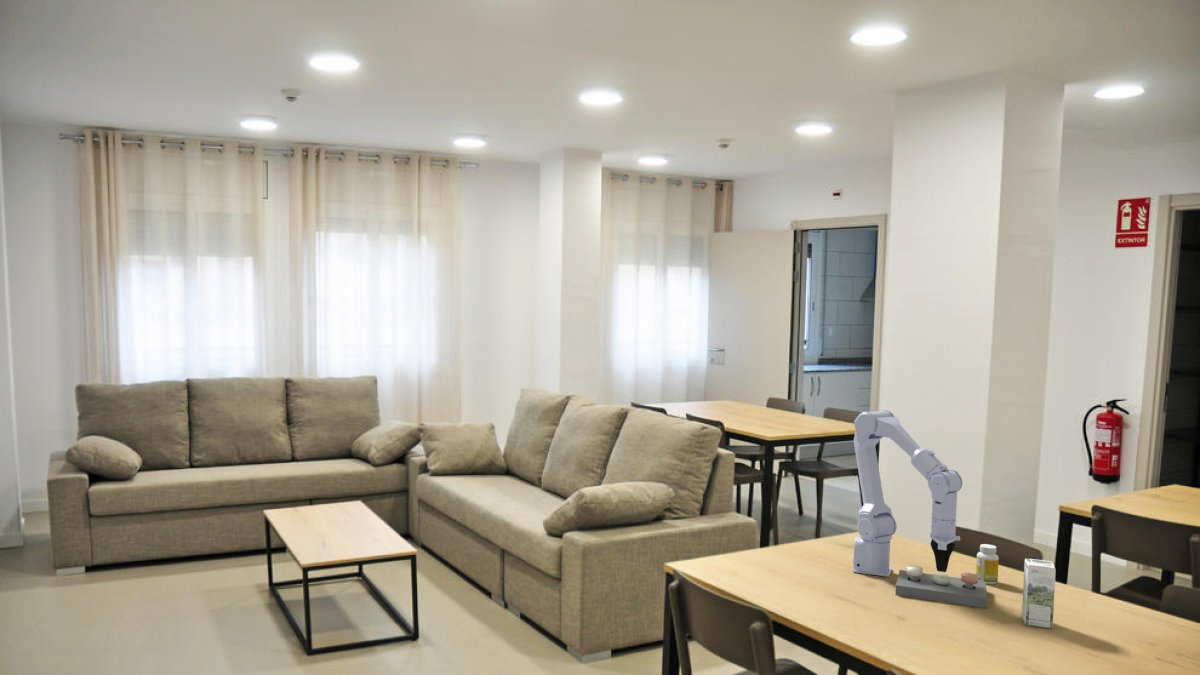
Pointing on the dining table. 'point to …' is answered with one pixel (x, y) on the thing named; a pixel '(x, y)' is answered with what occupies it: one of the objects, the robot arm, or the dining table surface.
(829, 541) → the dining table surface
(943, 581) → the button sage
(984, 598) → the panel
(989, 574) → the supplement bottle
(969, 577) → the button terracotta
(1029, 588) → the syrup box
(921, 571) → the button cream
